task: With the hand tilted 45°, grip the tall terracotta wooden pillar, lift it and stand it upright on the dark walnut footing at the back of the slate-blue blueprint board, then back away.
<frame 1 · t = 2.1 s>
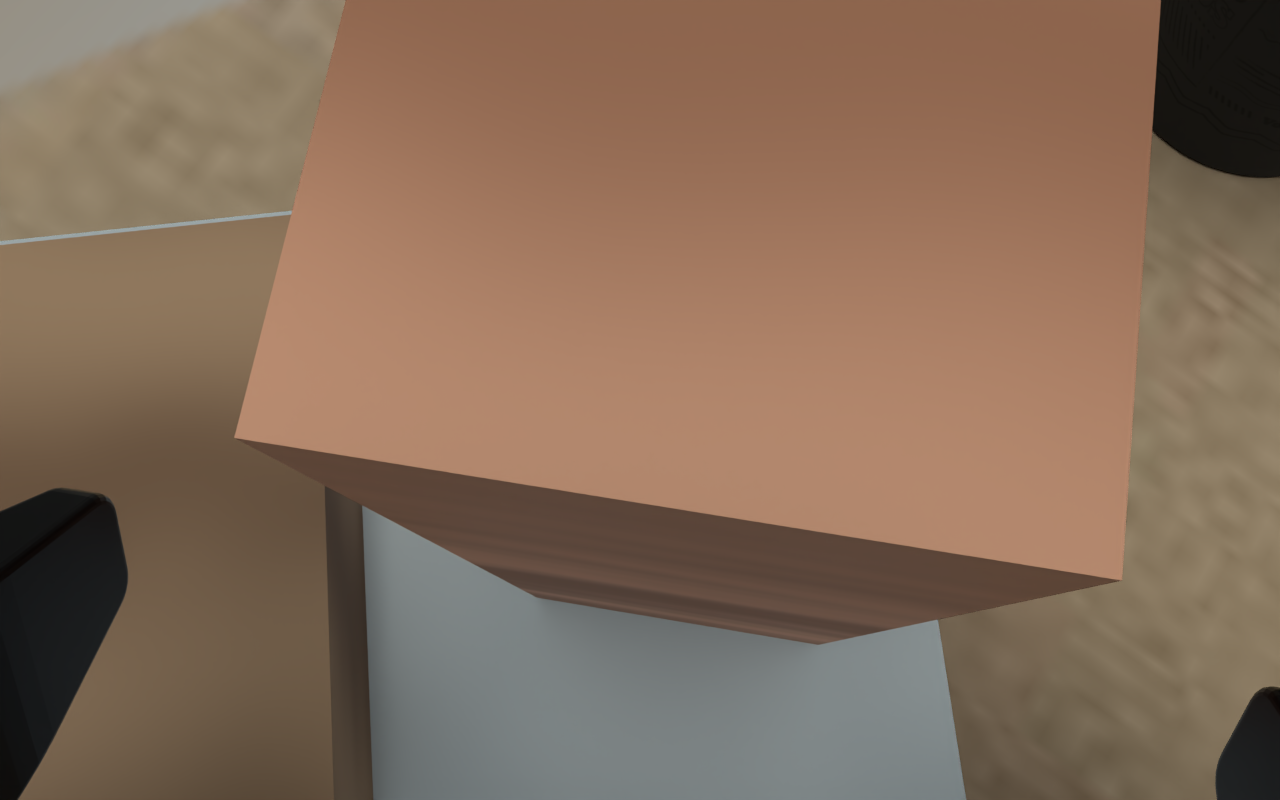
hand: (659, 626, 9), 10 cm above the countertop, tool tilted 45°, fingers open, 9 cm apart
terracotta pillar: (698, 482, 18), point 1 cm above the countertop, touching blueprint board
blueprint board: (381, 582, 19), on the countertop
walnut footing: (89, 543, 18), resting on blueprint board
drinking cup: (1242, 64, 21), on the countertop
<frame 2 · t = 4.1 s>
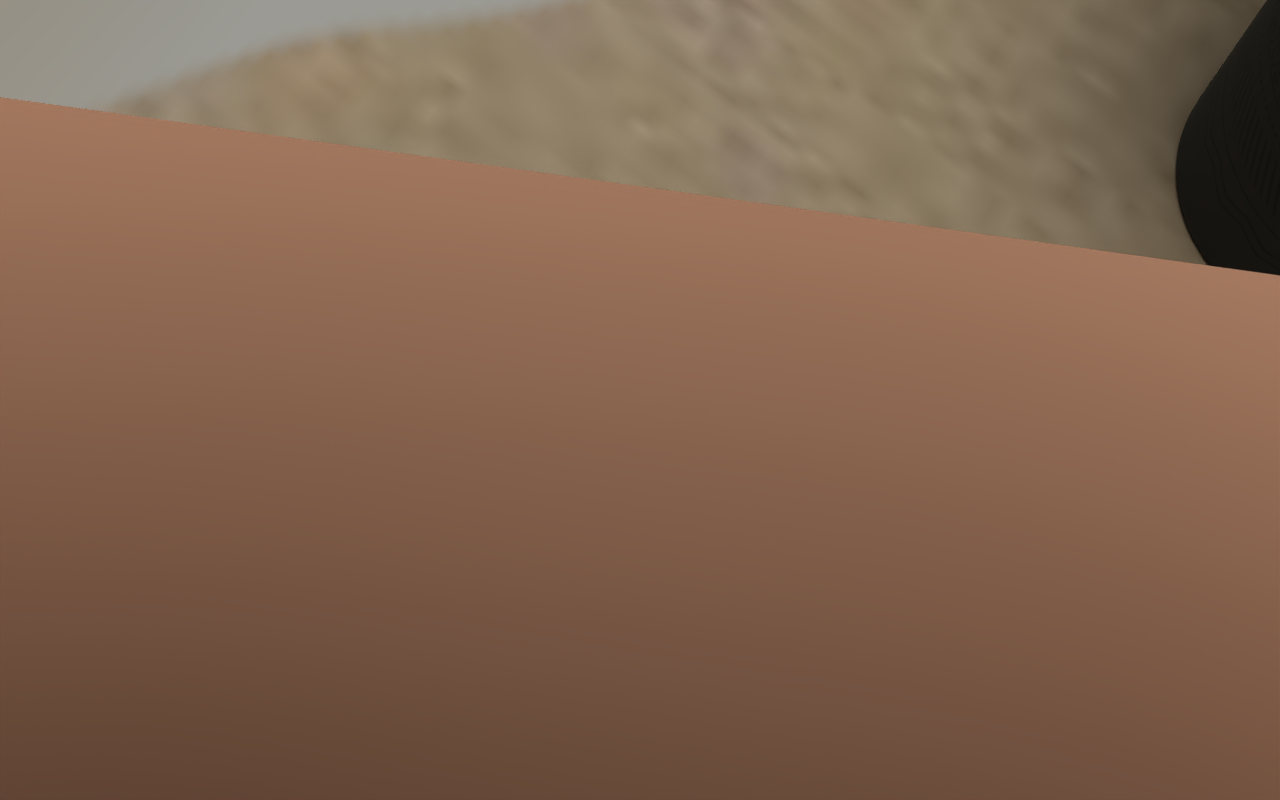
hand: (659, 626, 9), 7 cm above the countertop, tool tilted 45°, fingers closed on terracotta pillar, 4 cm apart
terracotta pillar: (651, 750, 14), point 1 cm above the countertop, touching blueprint board, gripper
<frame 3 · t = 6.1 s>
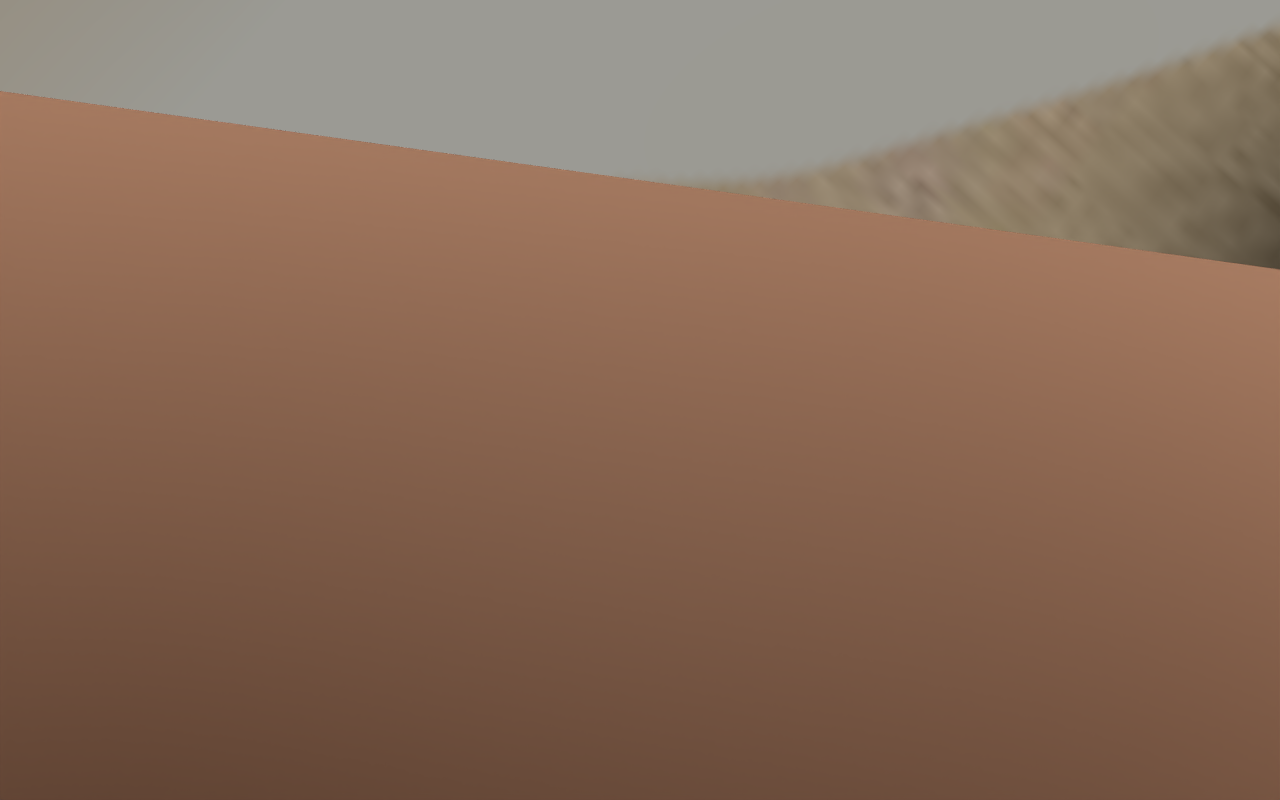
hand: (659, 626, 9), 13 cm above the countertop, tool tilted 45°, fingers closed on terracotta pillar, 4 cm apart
terracotta pillar: (653, 749, 14), point 7 cm above the countertop, touching gripper
when the fingers open (10 cm above the countertop, at t = 8.3 s): terracotta pillar drops 1 cm, resting on walnut footing.
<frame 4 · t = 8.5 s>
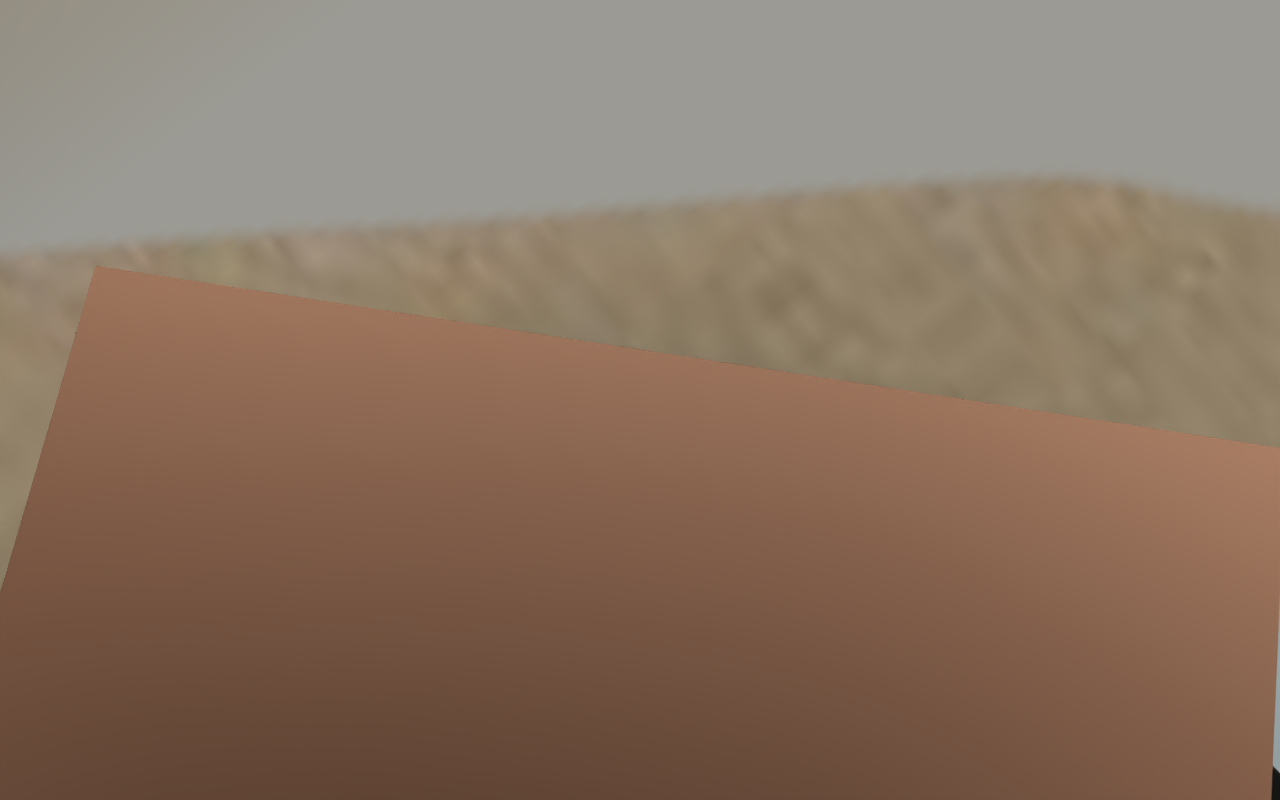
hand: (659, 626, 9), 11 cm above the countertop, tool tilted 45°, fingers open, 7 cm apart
terracotta pillar: (653, 742, 16), point 3 cm above the countertop, touching walnut footing
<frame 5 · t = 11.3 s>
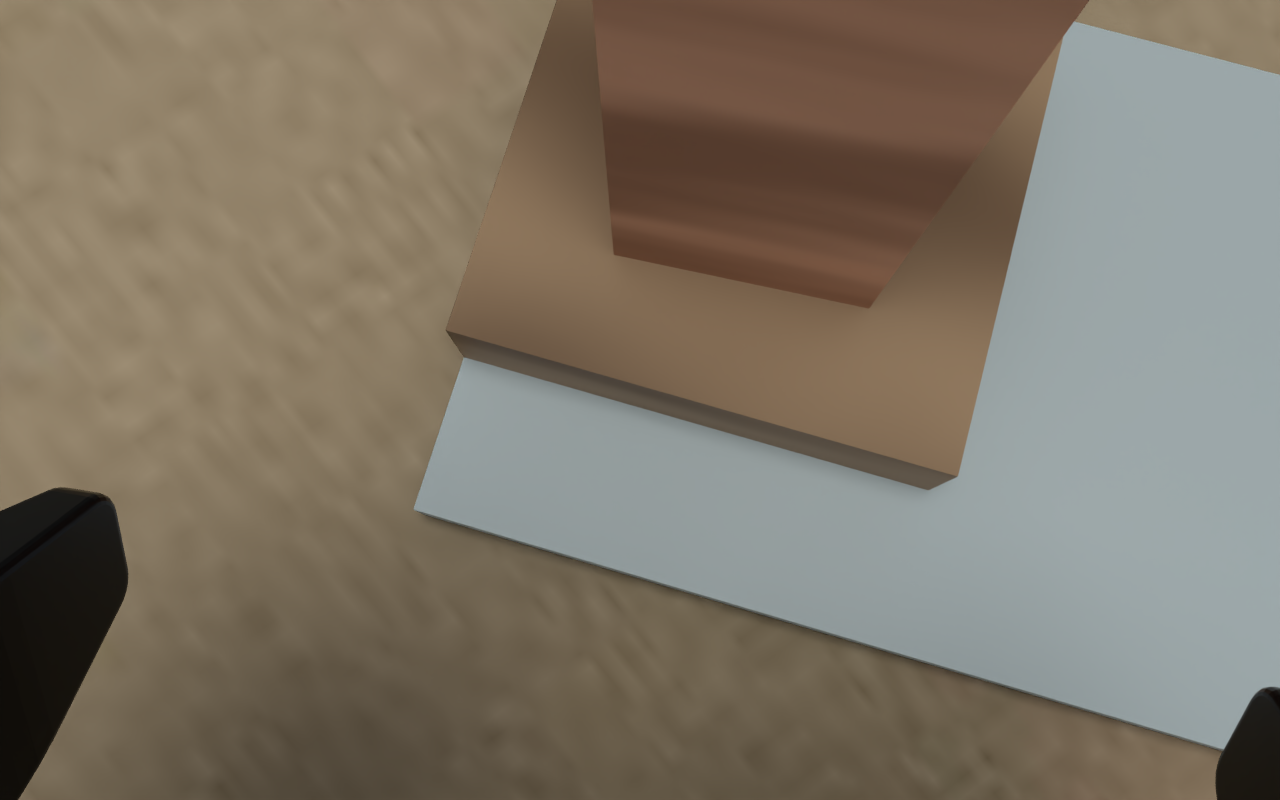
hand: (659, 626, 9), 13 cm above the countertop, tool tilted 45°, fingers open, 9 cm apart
terracotta pillar: (766, 162, 20), point 3 cm above the countertop, touching walnut footing
blueprint board: (957, 327, 22), on the countertop
walnut footing: (756, 203, 22), resting on blueprint board
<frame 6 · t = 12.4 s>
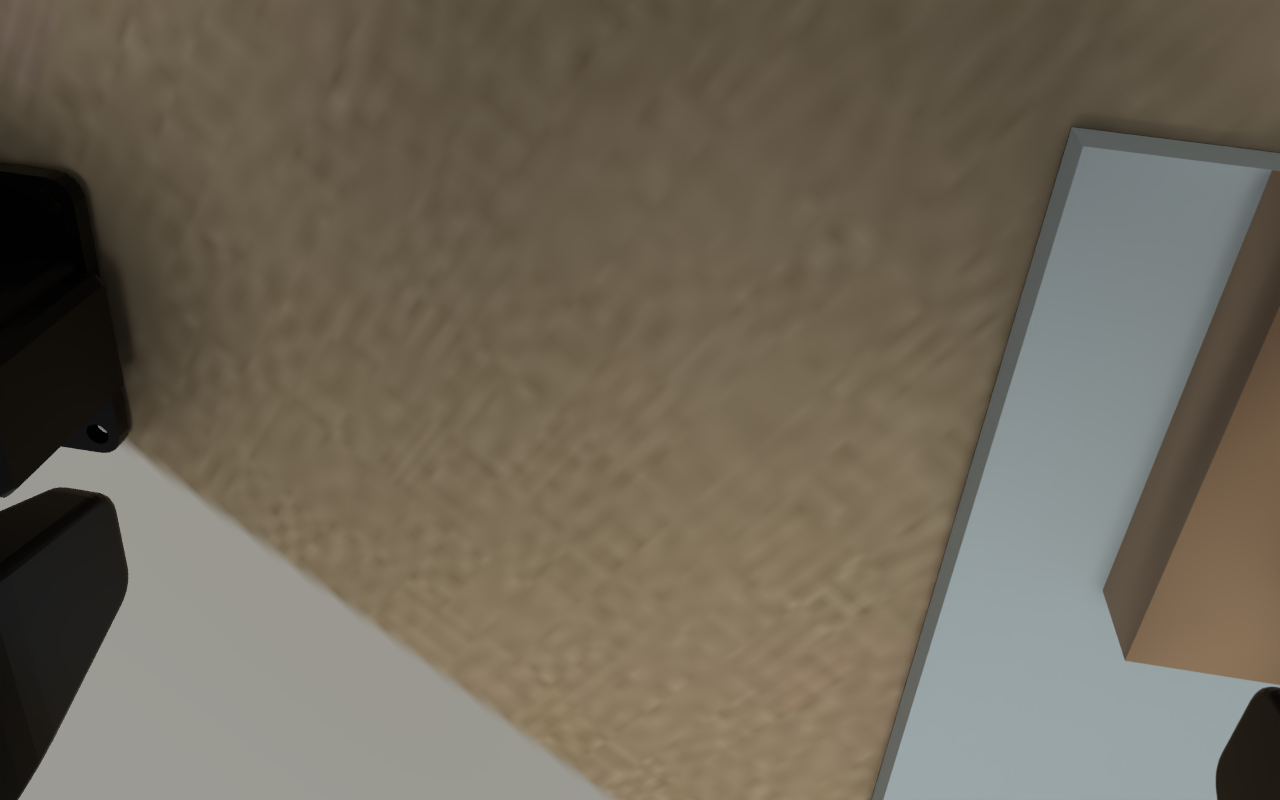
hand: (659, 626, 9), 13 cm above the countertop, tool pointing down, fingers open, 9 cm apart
blueprint board: (1262, 585, 23), on the countertop
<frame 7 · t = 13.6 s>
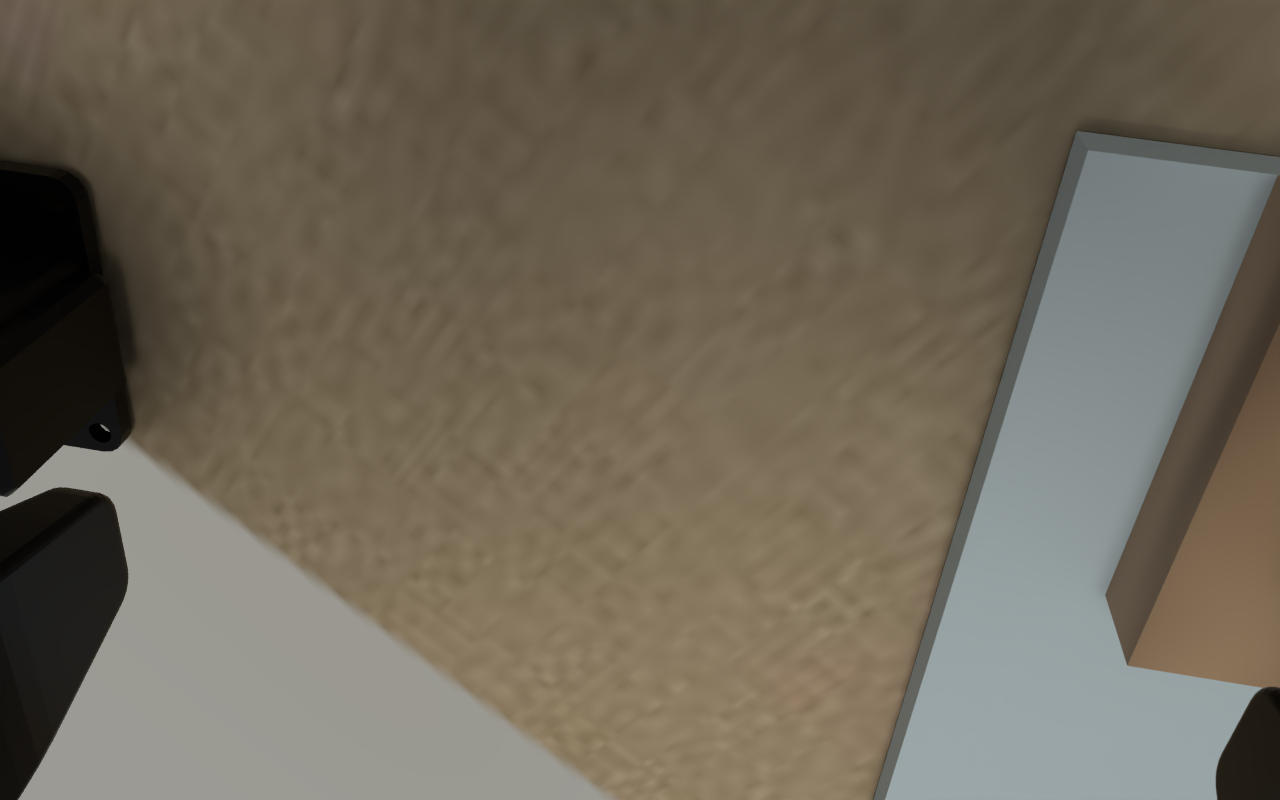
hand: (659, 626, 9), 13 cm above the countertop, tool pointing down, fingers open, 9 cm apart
blueprint board: (1265, 590, 23), on the countertop
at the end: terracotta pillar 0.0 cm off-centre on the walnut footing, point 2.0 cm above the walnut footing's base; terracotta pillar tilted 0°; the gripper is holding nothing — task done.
